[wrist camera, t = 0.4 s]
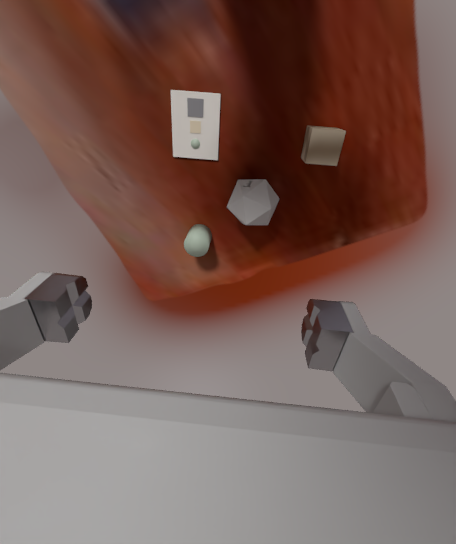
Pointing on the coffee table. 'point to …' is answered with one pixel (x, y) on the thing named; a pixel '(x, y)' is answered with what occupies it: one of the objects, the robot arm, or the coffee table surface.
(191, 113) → the plan card
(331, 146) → the birch block
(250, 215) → the die
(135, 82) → the coffee table surface
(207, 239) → the pale green rounded lump
